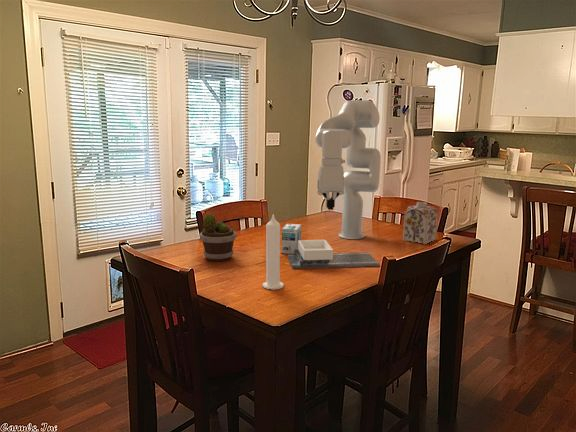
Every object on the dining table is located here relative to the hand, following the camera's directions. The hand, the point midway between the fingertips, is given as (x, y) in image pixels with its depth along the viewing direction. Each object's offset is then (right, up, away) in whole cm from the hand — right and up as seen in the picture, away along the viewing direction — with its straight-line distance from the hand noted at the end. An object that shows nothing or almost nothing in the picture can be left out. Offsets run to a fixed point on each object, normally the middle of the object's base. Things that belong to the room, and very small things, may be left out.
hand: (330, 209), depth 190 cm
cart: (-6, -20, +2) cm, 21 cm away
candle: (-22, -27, -26) cm, 43 cm away
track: (+1, -21, +3) cm, 21 cm away
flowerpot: (-45, -20, +6) cm, 49 cm away
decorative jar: (+45, -14, +37) cm, 60 cm away
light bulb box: (-15, -18, +18) cm, 29 cm away
